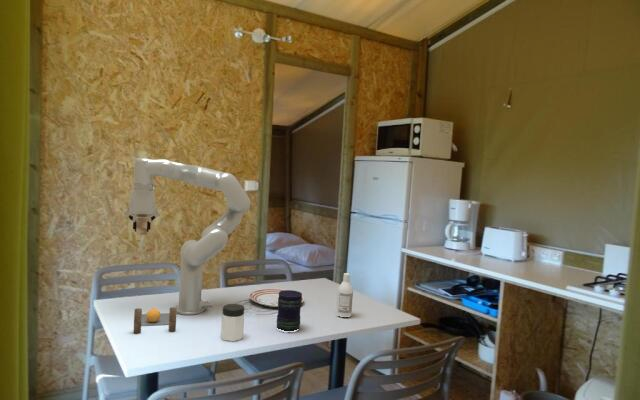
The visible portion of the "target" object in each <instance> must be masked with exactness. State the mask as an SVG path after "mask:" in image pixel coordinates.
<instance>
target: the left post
mask: <svg viewBox="0 0 640 400" xmlns="http://www.w3.org/2000/svg"><path fill="white" fill-rule="evenodd" d="M142 312H143V309H142V308H139V307H138V308H134V312H133V314H134V315H133V316H134V317H133V334H134V335H139V334H141V333H142V326H141V318H142V314H143V313H142Z"/></svg>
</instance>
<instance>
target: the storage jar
mask: <svg viewBox="0 0 640 400" xmlns="http://www.w3.org/2000/svg"><path fill="white" fill-rule="evenodd" d="M283 290H284V291H280V292H279V297H278V308H277V311H278V312H277V316H276V327H277V328H278V329H281V330H284V331H294V330H297V329H299V328H300V327H301V308H302V303H303V302H302V296H303V293H302V292H300V291H298V290H292V289H290V290H289V289H283Z"/></svg>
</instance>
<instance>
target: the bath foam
mask: <svg viewBox="0 0 640 400" xmlns="http://www.w3.org/2000/svg"><path fill="white" fill-rule="evenodd" d="M342 277H343V278H342V282H341V283H340V285H339V286H338V289H337V301H336V312H335V313H337V314H338V315H341V316H350V315H351V316H352V311H353V310H352V309H353V299H354V298H353V297H354V289H353V286H352V284H351V282H350V280H351V274H350V273H348V272H344V273H343V276H342Z"/></svg>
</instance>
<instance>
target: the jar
mask: <svg viewBox="0 0 640 400" xmlns="http://www.w3.org/2000/svg"><path fill="white" fill-rule="evenodd" d="M220 327H221V328H220V337H221V340H222V341H225V340H230V341H229V342H232V341H234V342H237V341H240V340H239V339H241V340H243V339H244V329H245V306H244V305H242V304H239V303H228V304H225V305H223V306H222V312H221V326H220ZM242 338H243V339H242ZM236 340H237V341H236Z"/></svg>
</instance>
